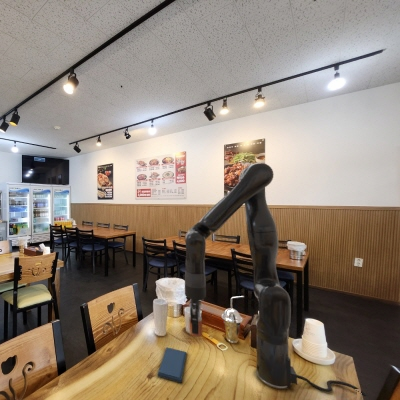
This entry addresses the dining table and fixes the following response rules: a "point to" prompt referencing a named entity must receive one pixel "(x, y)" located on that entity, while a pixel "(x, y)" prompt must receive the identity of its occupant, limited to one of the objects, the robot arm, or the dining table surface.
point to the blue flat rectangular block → (172, 365)
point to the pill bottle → (198, 327)
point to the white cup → (187, 315)
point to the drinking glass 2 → (160, 316)
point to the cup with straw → (232, 323)
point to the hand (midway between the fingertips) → (195, 329)
